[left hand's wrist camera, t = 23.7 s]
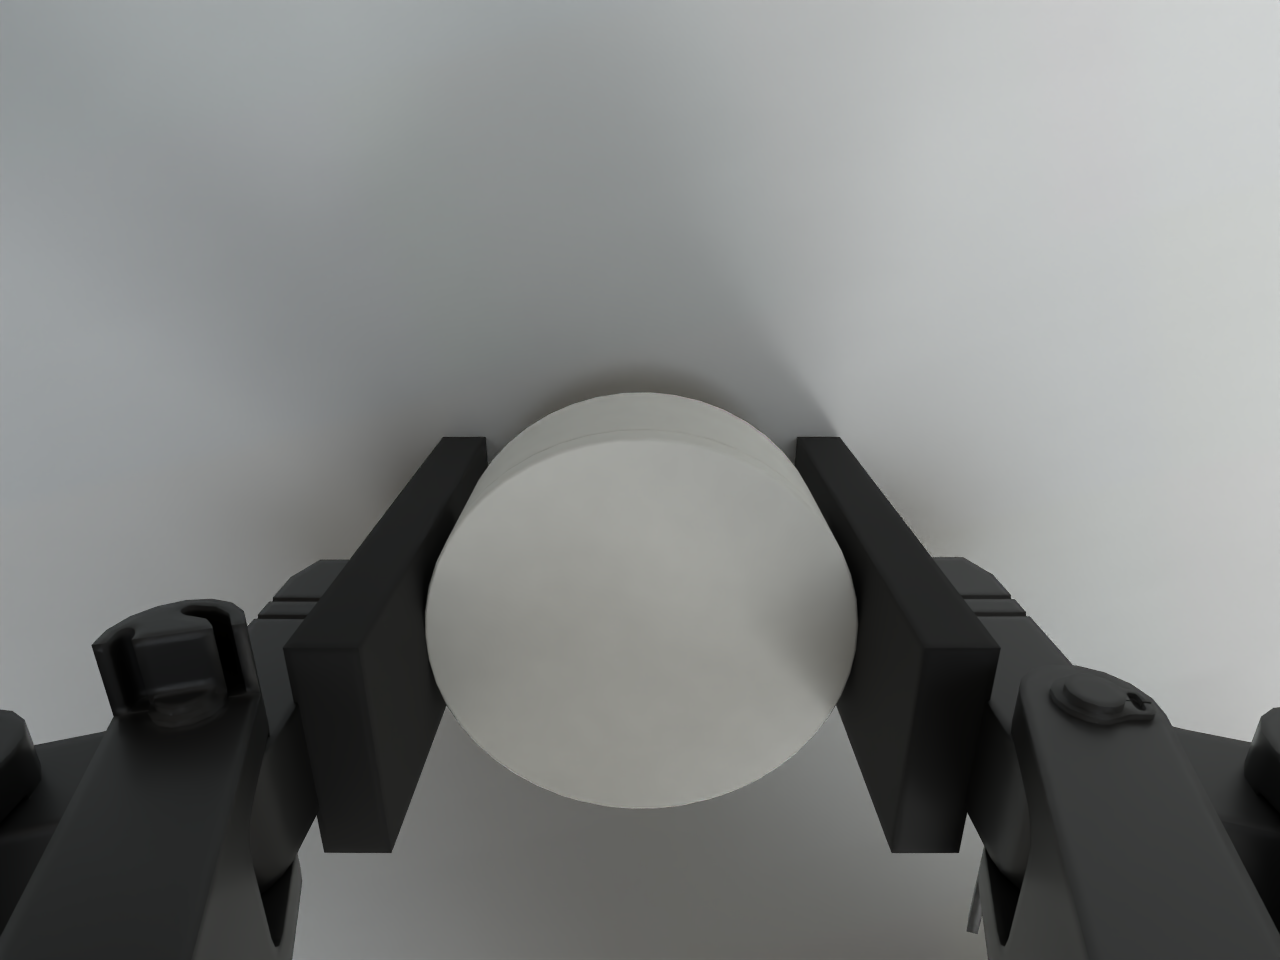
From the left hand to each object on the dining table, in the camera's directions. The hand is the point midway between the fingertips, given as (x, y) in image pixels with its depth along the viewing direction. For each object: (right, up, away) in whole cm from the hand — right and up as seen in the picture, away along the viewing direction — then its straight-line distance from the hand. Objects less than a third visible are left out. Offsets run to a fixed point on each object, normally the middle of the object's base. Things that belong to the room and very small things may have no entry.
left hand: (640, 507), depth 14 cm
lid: (0, -2, -4) cm, 4 cm away
